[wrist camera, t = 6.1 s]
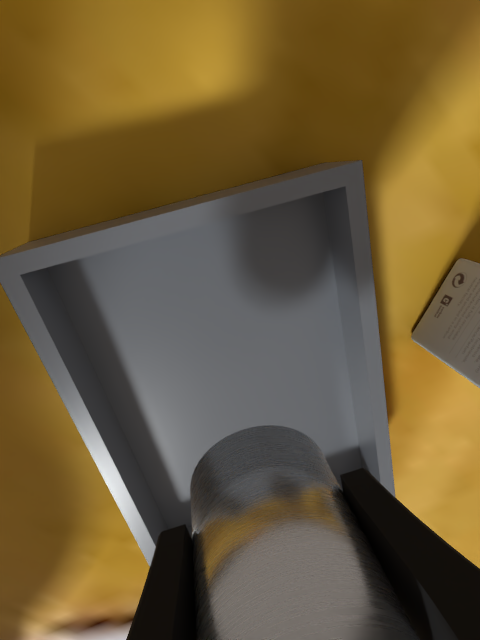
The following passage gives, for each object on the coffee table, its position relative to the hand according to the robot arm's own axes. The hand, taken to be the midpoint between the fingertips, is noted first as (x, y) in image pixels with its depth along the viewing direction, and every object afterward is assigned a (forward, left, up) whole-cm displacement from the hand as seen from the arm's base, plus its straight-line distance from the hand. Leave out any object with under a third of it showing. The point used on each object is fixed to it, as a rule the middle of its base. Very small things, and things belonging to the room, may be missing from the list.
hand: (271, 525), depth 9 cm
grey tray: (0, 0, -8) cm, 8 cm away
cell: (0, 0, -1) cm, 1 cm away
